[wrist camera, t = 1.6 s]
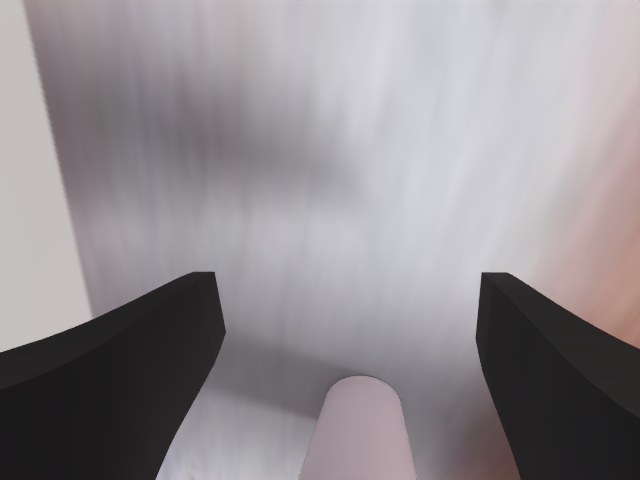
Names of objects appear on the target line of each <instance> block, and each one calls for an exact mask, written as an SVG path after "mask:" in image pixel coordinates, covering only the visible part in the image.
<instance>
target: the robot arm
mask: <svg viewBox="0 0 640 480" xmlns="http://www.w3.org/2000/svg"><path fill="white" fill-rule="evenodd" d="M225 334H226V330H225V325H224V320H223V315H222V309H221V304H220V299H219V293H218V288H217V283H216V278H215V272H192V273H189V274H186V275H184V276H182V277H179V278H177V279H175V280H173V281H171V282H169V283H167V284H165V285H163V286H161V287H159V288H157V289H155V290H153V291H151V292H149V293H147V294H145V295H143V296H141V297H139V298H137V299H135V300H133V301H131V302H129V303H127V304H125V305H123V306H121V307H119V308H116V309H114V310H112V311H110V312H108V313H106V314H104V315H102V316H99V317H97V318H95V319H93V320H90V321H88V322H86V323H83V324H81V325H79V326H76V327H74V328H71V329H68V330H66V331H64V332H61V333H58V334H55V335H53V336H50V337H47V338H45V339H42V340H38V341H35V342H32V343H29V344H26V345H22V346H19V347H16V348H13V349H10V350H7V351H4V352H1V353H0V480H155V479H156V477H157V475H158V472H159V470H160V467H161V465H162V463H163V460H164V458H165V456H166V453H167V451H168V449H169V447H170V445H171V443H172V441H173V439H174V437H175V435H176V433H177V431H178V429H179V427H180V425H181V423H182V422H183V420H184V418H185V416H186V414H187V413H188V411H189V409H190V407H191V405H192V404H193V402H194V400H195V398H196V396H197V395H198V393H199V391H200V389H201V387H202V386H203V384H204V382H205V380H206V378H207V376H208V374H209V373H210V371H211V369H212V367H213V365H214V363H215V361H216V358H217V356H218V353H219V351H220V348H221V345H222V342H223V339H224V336H225ZM476 343H477V348H478V353H479V358H480V362H481V366H482V371H483V374H484V377H485V380H486V383H487V385H488V388H489V391H490V394H491V396H492V399H493V402H494V404H495V407H496V410H497V412H498V415H499V418H500V420H501V423H502V426H503V428H504V431H505V434H506V436H507V439H508V442H509V444H510V447H511V450H512V452H513V455H514V458H515V461H516V465H517V468H518V471H519V474H520V478H521V480H640V349H638V348H636V347H634V346H632V345H630V344H628V343H626V342H623V341H621V340H619V339H617V338H616V337H614V336H612V335H610V334H608V333H606V332H604V331H602V330H601V329H599V328H597V327H595V326H593V325H592V324H590V323H588V322H586V321H584V320H583V319H581V318H579V317H578V316H576V315H574V314H573V313H571V312H569V311H568V310H566V309H564V308H563V307H561V306H560V305H558V304H556V303H555V302H553V301H552V300H550V299H549V298H547V297H546V296H544V295H542V294H541V293H539V292H538V291H536V290H535V289H533V288H532V287H530V286H529V285H527V284H526V283H524V282H523V281H521V280H519V279H518V278H516V277H514V276H513V275H511V274H509V273H492V272H482V275H481V286H480V297H479V308H478V319H477V329H476Z"/></svg>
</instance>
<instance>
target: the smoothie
mask: <svg viewBox="0 0 640 480" xmlns="http://www.w3.org/2000/svg"><path fill="white" fill-rule="evenodd" d="M298 480H417V476H416V472H415V467H414V462H413V458H412V453H411V448H410V444H409V439H408V434H407V430H406V425H405V420H404V416H403V411H402V406H401V402H400V399H399V396H398V395H397V393H396V392H395V390H394V389H393V388H392V387H391V386H389V385H388V384H387V383H385V382H383V381H381V380H379V379H377V378H373V377H369V376H350V377H346V378H344V379H341V380H339V381H338V382H336V383H335V384H334V385H333V386H332V387H331V388H330V389H329V391H328V393H327V395H326V398H325V401H324V404H323V407H322V410H321V413H320V416H319V419H318V422H317V425H316V428H315V431H314V433H313V436H312V439H311V442H310V445H309V448H308V451H307V454H306V457H305V460H304V463H303V466H302V469H301V471H300V474H299V477H298Z"/></svg>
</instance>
